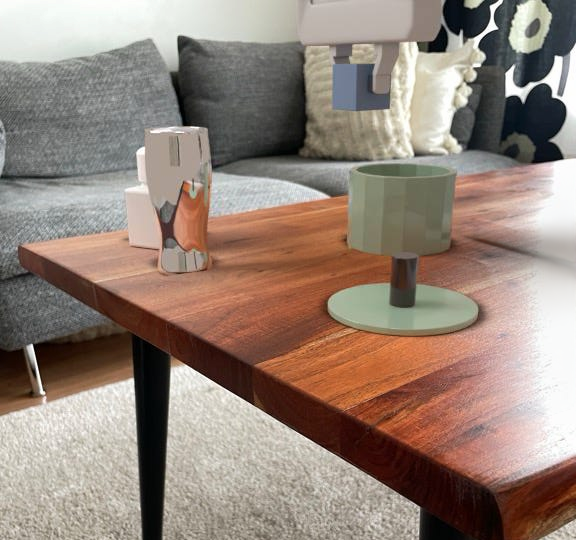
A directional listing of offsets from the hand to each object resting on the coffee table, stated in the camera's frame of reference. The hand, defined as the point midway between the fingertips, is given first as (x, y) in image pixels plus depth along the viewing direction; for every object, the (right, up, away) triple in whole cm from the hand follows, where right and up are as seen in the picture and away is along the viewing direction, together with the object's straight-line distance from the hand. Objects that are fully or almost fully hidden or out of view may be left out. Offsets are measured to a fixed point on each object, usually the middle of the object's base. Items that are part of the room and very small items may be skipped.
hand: (361, 92), depth 75 cm
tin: (+6, -13, +15) cm, 21 cm away
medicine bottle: (-23, -13, +17) cm, 32 cm away
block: (0, -1, +1) cm, 2 cm away
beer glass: (-19, -18, +6) cm, 27 cm away
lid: (+3, -24, -9) cm, 26 cm away
